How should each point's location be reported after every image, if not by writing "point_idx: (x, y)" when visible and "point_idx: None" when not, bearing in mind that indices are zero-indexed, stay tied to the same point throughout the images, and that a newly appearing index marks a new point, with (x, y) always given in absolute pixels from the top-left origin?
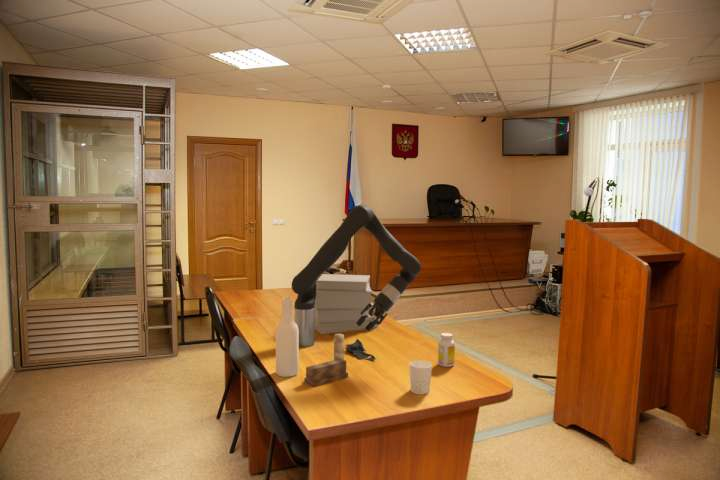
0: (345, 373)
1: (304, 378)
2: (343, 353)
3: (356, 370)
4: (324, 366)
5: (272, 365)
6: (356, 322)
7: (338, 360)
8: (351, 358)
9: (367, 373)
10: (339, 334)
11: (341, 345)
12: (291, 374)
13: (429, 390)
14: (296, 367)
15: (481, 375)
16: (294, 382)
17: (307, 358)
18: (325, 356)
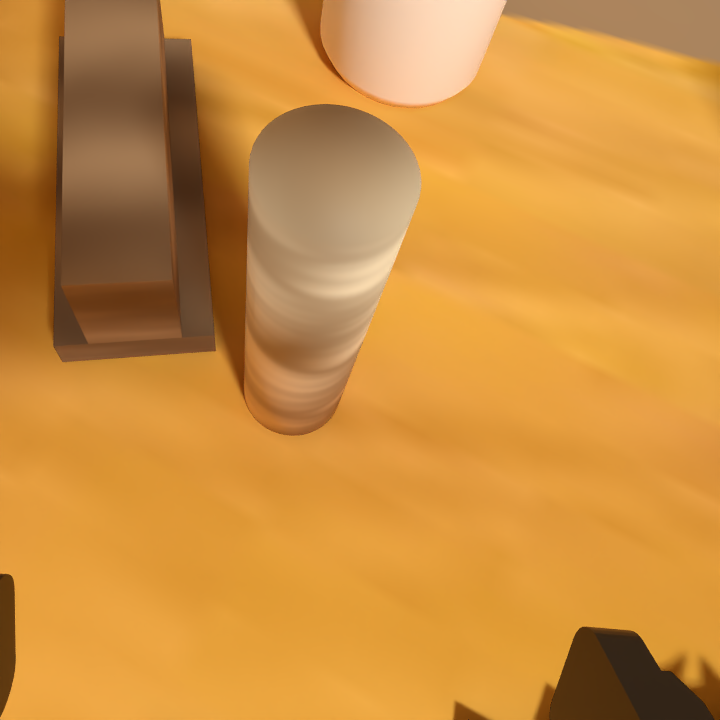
0: (64, 322)
1: (188, 42)
2: (257, 347)
3: (165, 523)
4: (64, 52)
5: (584, 51)
6: (626, 633)
7: (132, 228)
8: (518, 665)
9: (15, 586)
10: (368, 194)
11: (247, 254)
12: (321, 25)
13: None
14: (339, 24)
15: None
16: (219, 17)
17: (652, 292)
18: (658, 447)
